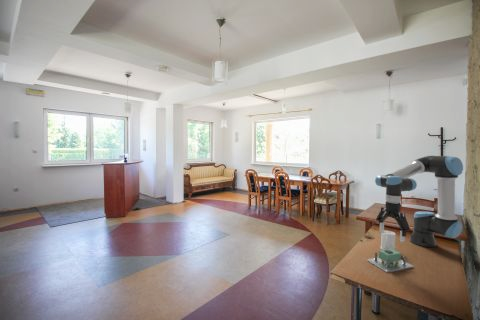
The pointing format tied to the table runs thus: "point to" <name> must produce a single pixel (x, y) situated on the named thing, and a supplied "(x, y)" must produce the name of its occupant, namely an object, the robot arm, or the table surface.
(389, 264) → the chassis
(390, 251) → the board
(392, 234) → the mug
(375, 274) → the table surface
